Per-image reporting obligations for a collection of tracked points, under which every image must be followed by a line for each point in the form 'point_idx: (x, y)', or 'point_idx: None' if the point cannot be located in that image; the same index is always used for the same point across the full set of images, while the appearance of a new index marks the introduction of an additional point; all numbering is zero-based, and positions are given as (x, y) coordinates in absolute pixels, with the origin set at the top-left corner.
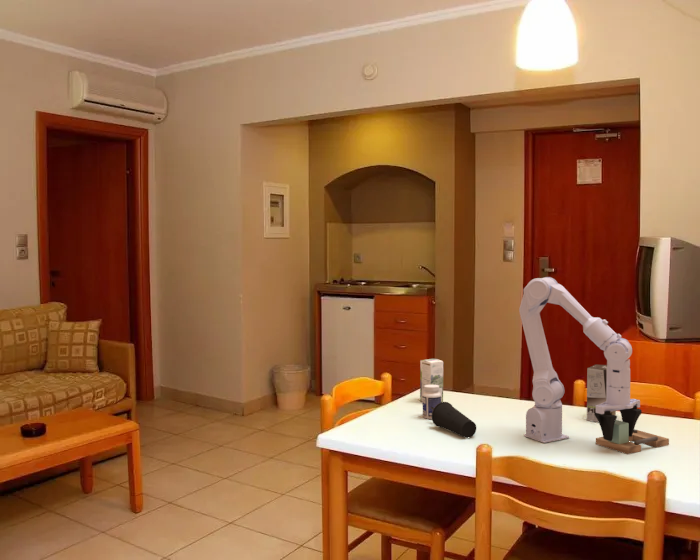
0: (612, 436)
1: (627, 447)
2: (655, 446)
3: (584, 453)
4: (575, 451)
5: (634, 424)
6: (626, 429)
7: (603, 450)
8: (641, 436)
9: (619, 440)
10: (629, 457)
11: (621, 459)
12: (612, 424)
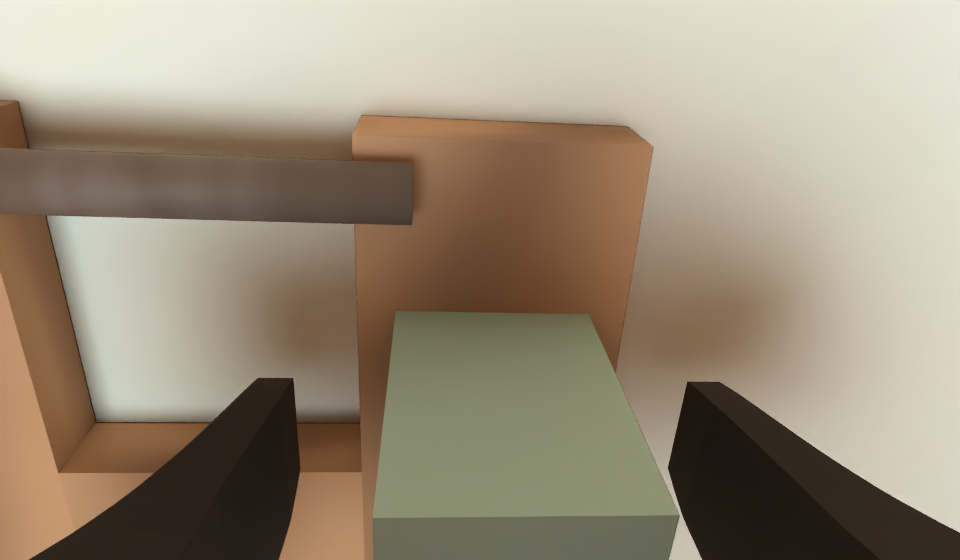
0: (722, 406)
1: (636, 162)
2: (15, 118)
3: (944, 388)
4: (936, 463)
5: (174, 483)
6: (439, 431)
7: (704, 361)
8: (2, 385)
9: (592, 339)
10: (734, 25)
11: (891, 30)
12: (912, 541)
